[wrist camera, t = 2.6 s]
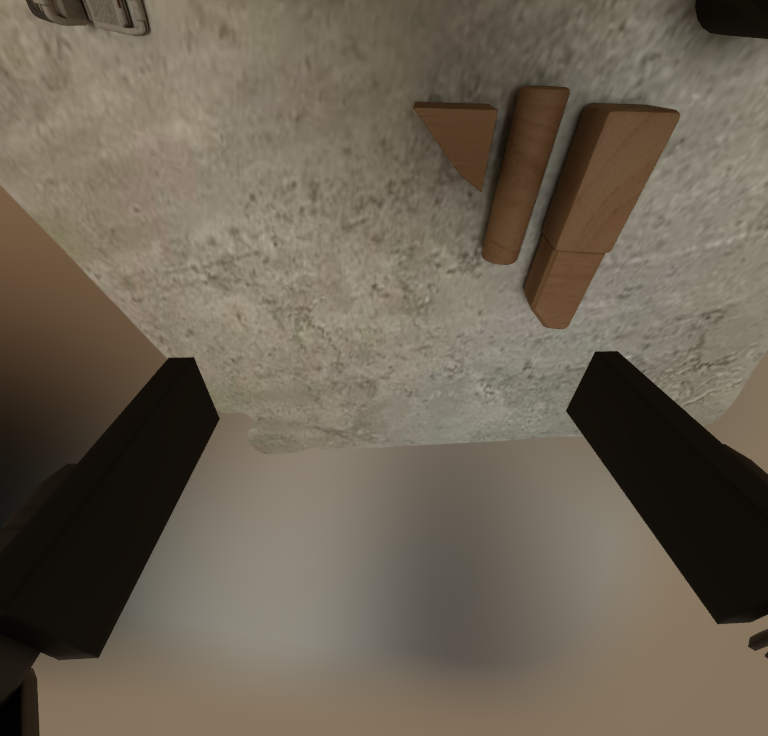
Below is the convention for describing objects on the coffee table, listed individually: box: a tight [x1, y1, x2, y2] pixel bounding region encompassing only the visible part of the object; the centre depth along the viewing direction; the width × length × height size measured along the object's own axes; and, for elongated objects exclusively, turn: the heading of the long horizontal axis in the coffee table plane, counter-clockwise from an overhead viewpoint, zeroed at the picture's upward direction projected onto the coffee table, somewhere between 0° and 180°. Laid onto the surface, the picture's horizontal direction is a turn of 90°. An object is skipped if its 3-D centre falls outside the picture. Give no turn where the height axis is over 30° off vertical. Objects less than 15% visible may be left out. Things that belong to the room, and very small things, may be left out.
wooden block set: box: [413, 86, 680, 329], centre depth 27 cm, size 17×6×18 cm
